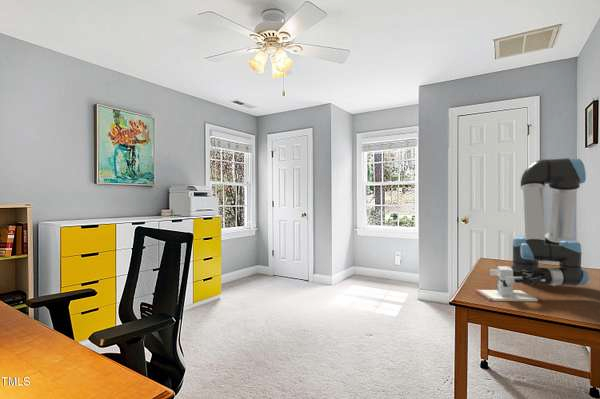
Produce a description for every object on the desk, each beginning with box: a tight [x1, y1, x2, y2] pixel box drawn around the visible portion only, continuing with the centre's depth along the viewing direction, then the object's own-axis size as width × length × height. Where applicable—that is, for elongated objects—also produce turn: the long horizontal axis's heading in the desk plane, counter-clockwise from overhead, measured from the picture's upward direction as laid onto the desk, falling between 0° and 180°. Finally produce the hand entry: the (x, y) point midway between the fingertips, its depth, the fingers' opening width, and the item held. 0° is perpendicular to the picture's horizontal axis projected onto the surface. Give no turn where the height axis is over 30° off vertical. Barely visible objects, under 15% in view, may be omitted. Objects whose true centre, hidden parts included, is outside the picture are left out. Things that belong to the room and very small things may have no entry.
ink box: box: [496, 265, 514, 297], centre depth 152 cm, size 8×5×12 cm, turn 159°
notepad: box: [475, 289, 539, 302], centre depth 152 cm, size 20×13×1 cm, turn 86°
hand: (497, 276), depth 152 cm, fingers open, 13 cm apart
